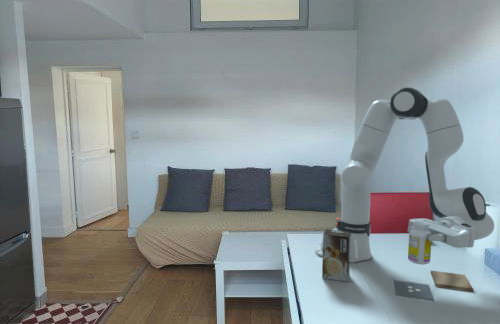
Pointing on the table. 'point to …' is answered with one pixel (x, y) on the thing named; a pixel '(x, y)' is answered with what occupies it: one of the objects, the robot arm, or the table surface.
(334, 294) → the table surface
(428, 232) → the supplement bottle
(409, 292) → the slate mat
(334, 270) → the coffee box
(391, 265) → the table surface
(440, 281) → the walnut board
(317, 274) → the table surface
